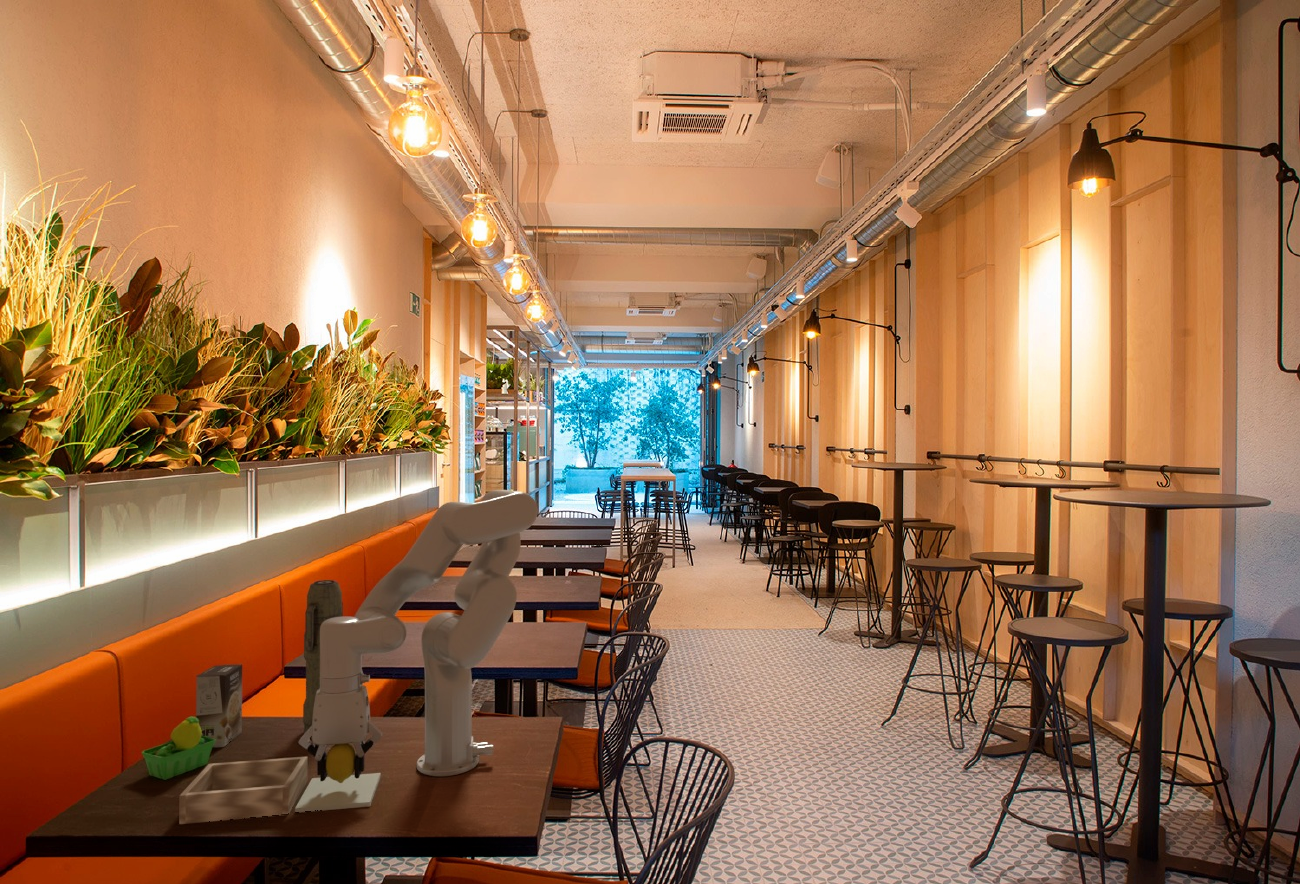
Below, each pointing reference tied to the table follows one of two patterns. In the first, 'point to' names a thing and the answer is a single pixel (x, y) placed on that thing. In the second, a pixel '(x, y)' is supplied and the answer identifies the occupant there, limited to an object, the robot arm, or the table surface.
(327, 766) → the lemon
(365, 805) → the board
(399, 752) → the table surface
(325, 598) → the thermos
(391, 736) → the table surface
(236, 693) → the coffee box
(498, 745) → the table surface
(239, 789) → the brown wooden tray
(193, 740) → the fruit basket
